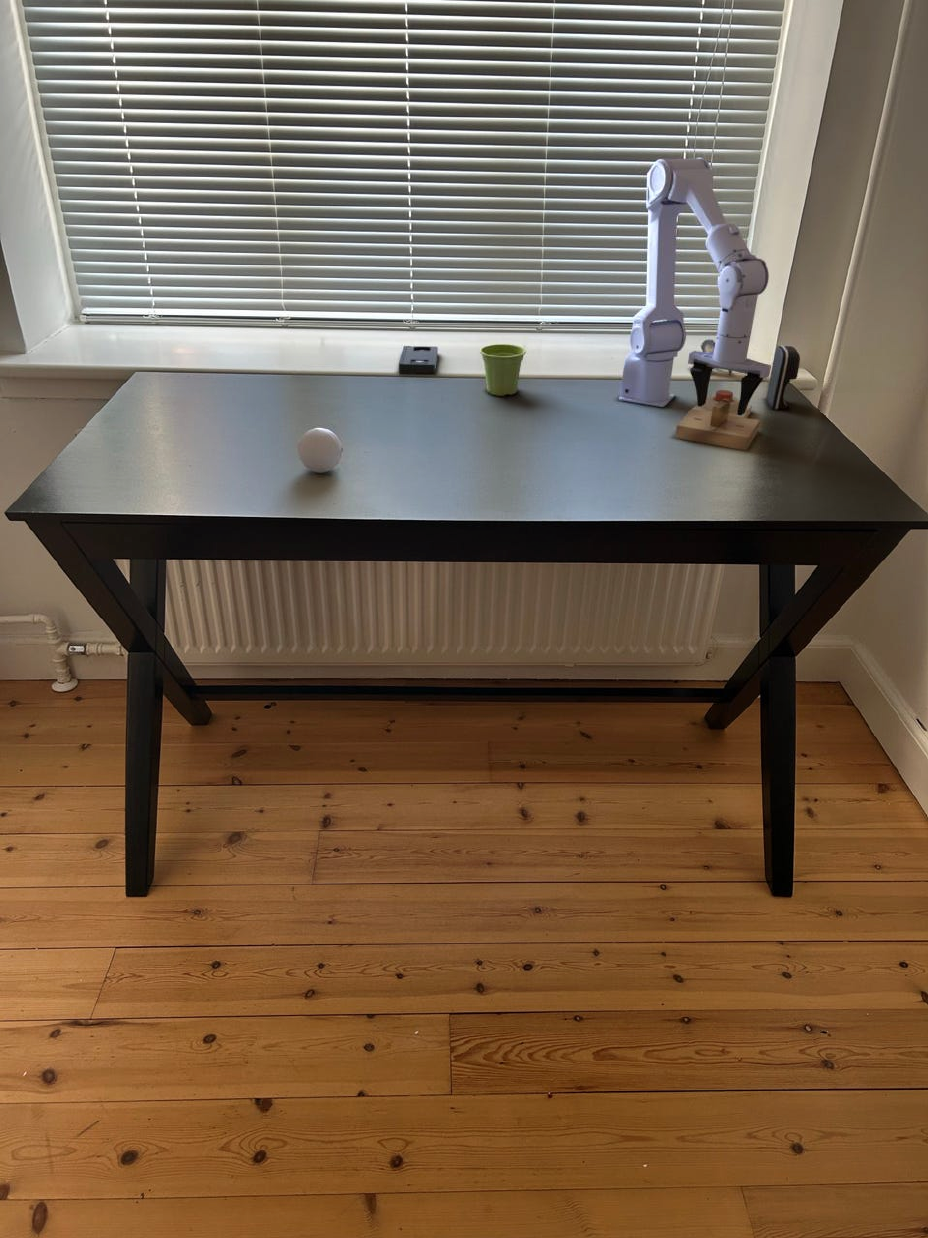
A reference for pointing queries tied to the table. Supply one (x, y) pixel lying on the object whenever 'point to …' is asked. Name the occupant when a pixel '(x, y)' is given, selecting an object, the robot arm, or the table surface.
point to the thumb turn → (720, 412)
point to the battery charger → (782, 375)
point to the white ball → (319, 450)
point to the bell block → (732, 410)
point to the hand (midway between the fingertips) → (720, 409)
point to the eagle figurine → (710, 348)
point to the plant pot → (502, 367)
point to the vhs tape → (418, 359)
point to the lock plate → (717, 430)
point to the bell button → (723, 395)
